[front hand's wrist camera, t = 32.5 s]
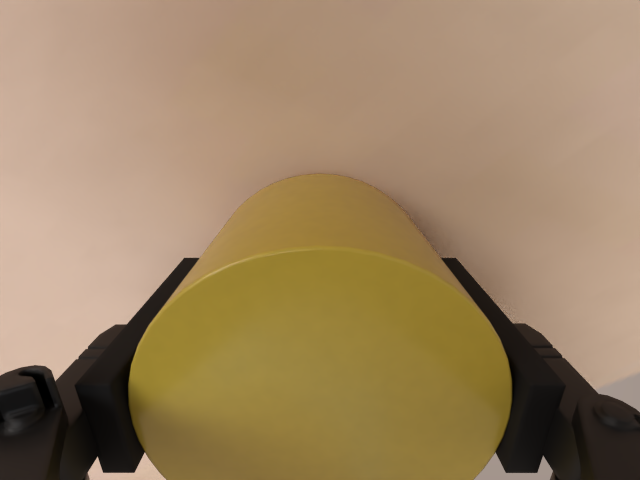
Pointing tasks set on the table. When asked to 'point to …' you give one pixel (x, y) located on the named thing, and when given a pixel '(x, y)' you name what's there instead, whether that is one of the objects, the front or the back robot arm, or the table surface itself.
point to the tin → (320, 350)
